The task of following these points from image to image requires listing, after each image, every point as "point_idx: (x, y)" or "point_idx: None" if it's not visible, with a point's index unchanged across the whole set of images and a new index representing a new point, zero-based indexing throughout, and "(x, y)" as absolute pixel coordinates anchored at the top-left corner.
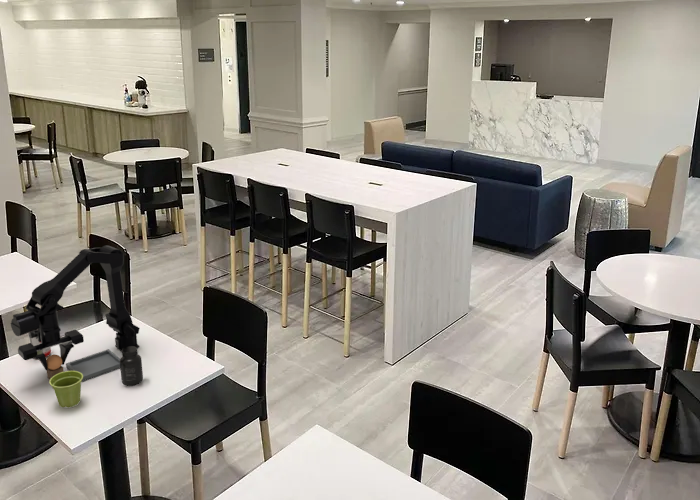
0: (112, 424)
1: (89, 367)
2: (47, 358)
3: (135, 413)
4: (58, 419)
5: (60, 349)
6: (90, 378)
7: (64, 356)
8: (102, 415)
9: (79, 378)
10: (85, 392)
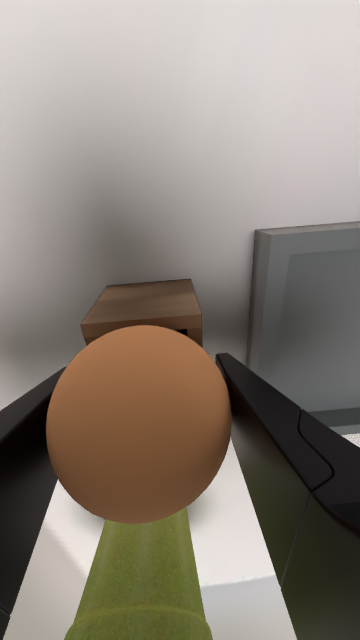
0: (207, 584)
1: (352, 336)
2: (56, 472)
3: (269, 575)
4: (95, 543)
5: (307, 501)
6: None
7: (258, 505)
8: (204, 562)
9: (207, 627)
10: (218, 478)
